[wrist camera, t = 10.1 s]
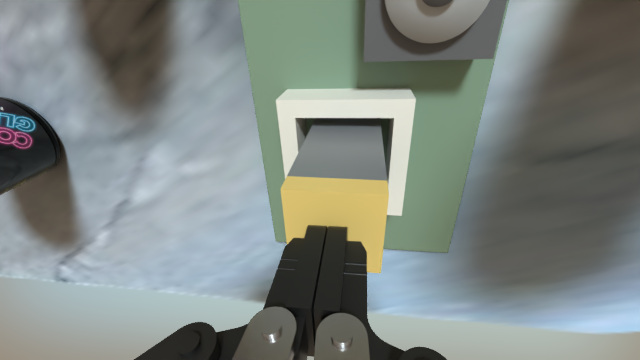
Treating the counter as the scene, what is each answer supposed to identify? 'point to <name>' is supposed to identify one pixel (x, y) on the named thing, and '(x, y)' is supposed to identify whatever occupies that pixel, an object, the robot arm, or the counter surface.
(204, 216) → the counter surface
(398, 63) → the header board
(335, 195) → the plug
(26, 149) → the supplement container
